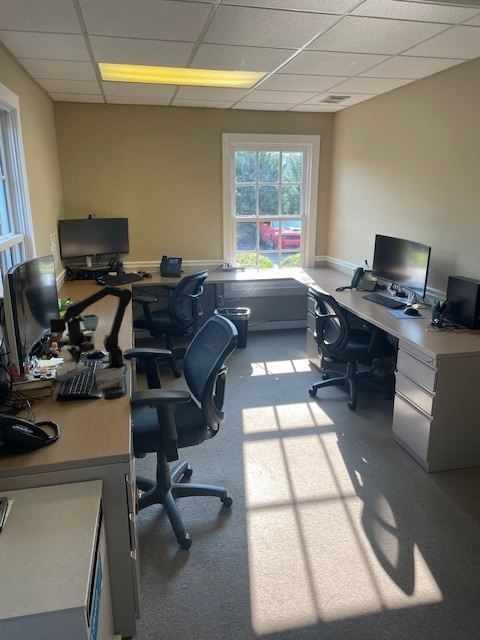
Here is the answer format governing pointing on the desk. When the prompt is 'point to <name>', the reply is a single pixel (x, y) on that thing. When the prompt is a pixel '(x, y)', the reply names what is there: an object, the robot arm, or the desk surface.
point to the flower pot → (90, 321)
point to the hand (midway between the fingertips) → (77, 362)
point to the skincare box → (90, 333)
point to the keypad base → (72, 373)
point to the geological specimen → (108, 378)
